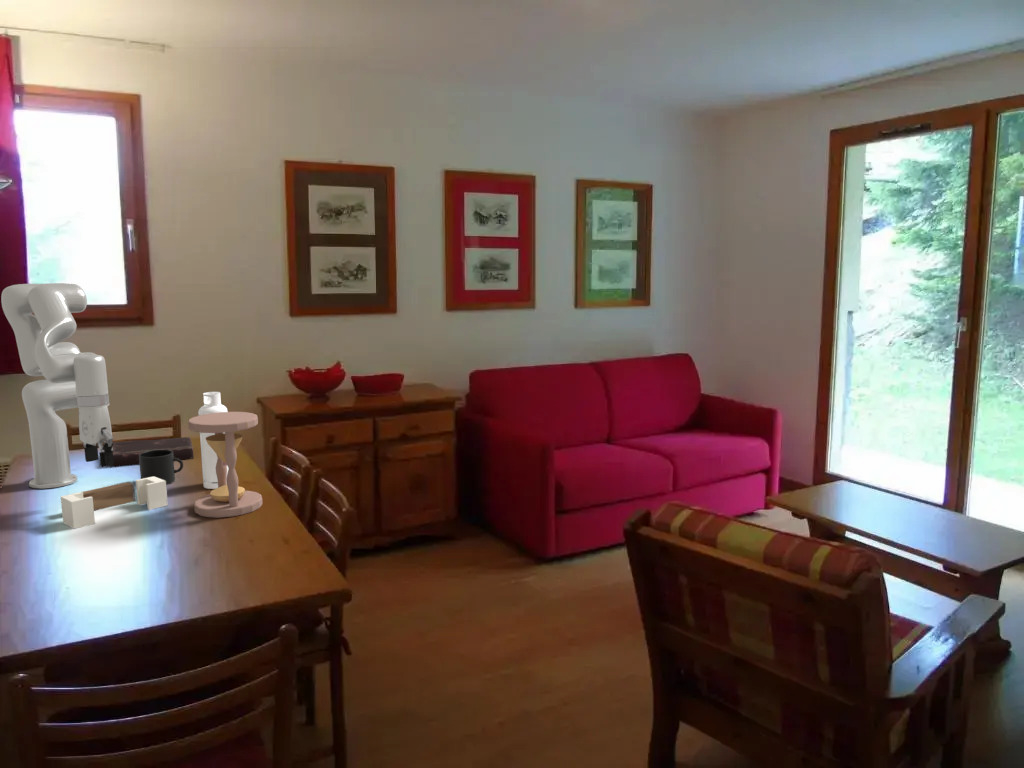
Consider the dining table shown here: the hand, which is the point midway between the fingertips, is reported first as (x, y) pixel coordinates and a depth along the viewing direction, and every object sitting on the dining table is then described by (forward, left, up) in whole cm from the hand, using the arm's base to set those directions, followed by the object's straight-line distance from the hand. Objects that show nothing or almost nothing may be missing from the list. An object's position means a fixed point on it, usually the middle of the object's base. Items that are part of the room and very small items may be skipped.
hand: (99, 463), depth 208 cm
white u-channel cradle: (+8, 0, -12) cm, 15 cm away
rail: (-1, 0, -12) cm, 12 cm away
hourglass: (+26, +22, -13) cm, 37 cm away
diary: (-44, +34, -13) cm, 57 cm away
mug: (-12, +22, -13) cm, 28 cm away
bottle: (+4, +31, -13) cm, 34 cm away
